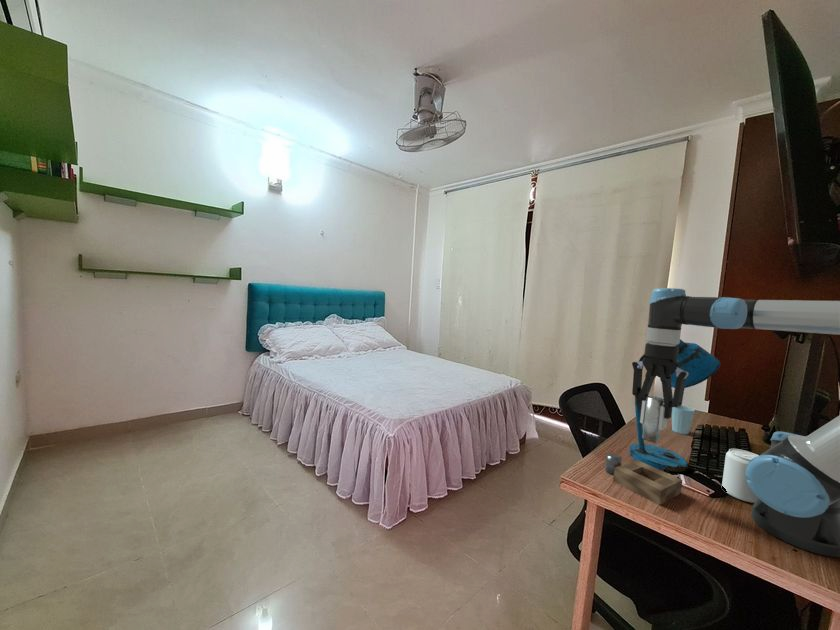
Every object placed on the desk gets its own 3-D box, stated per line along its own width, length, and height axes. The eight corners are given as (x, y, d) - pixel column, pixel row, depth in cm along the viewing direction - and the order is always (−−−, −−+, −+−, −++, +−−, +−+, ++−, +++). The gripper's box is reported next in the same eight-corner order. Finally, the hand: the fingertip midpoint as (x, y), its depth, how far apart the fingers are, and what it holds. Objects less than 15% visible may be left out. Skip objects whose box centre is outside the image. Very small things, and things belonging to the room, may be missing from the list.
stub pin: (622, 474, 100) (624, 458, 100) (615, 476, 98) (617, 460, 98) (609, 467, 103) (611, 452, 103) (602, 470, 101) (603, 454, 101)
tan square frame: (680, 493, 91) (682, 479, 91) (659, 505, 85) (660, 490, 85) (635, 472, 101) (636, 459, 101) (613, 480, 96) (614, 467, 95)
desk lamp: (717, 479, 100) (736, 334, 97) (636, 465, 105) (651, 327, 102) (688, 455, 115) (704, 329, 112) (619, 444, 121) (632, 324, 118)
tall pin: (662, 441, 92) (667, 399, 91) (654, 443, 90) (659, 401, 89) (646, 435, 95) (651, 395, 94) (639, 437, 93) (644, 396, 92)
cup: (694, 433, 136) (697, 409, 136) (688, 437, 132) (691, 412, 131) (672, 426, 143) (675, 403, 142) (666, 430, 138) (668, 406, 138)
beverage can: (770, 507, 87) (776, 464, 87) (734, 501, 89) (740, 459, 88) (746, 489, 95) (751, 450, 94) (714, 485, 97) (719, 445, 96)
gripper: (706, 348, 85) (695, 435, 87) (636, 338, 100) (628, 413, 101) (693, 349, 81) (682, 440, 83) (623, 339, 96) (614, 416, 98)
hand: (652, 425), depth 92 cm, fingers closed on tall pin, 4 cm apart
